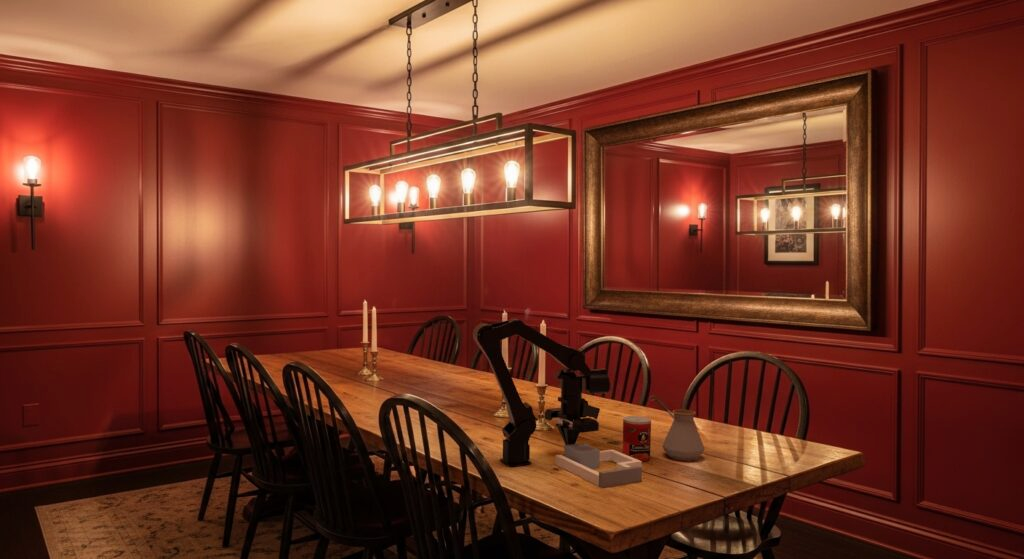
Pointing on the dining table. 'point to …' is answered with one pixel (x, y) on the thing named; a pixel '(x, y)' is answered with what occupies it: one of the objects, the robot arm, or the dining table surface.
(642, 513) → the dining table surface
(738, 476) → the dining table surface
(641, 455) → the canned food
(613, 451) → the white tray
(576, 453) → the slate block
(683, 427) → the coffee pot
